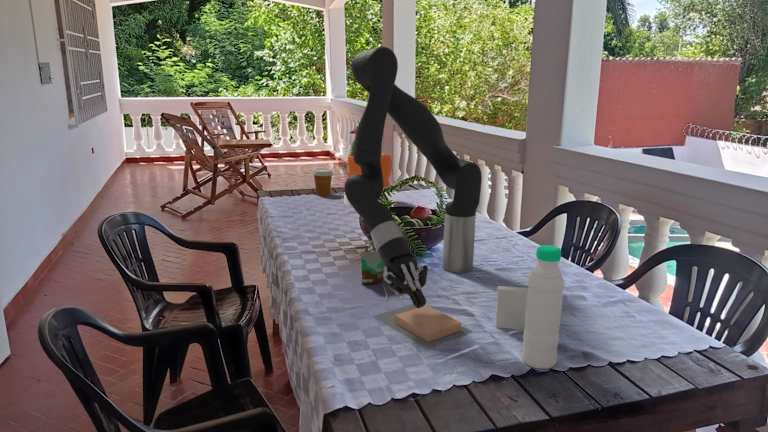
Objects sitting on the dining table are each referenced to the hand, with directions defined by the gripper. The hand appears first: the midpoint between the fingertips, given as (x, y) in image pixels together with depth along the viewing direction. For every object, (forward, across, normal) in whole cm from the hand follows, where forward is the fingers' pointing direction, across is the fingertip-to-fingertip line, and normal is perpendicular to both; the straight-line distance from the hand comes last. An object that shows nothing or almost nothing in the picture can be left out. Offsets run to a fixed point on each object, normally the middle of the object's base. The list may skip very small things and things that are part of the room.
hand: (422, 306), depth 132 cm
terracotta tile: (0, 0, +5) cm, 5 cm away
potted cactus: (-75, +65, +82) cm, 129 cm away
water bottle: (+23, +9, -16) cm, 29 cm away
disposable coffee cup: (-93, +56, +100) cm, 147 cm away
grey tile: (+13, +16, -6) cm, 22 cm away
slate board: (+3, 0, +4) cm, 5 cm away
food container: (-18, +9, +25) cm, 32 cm away
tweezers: (-12, +7, +20) cm, 24 cm away
